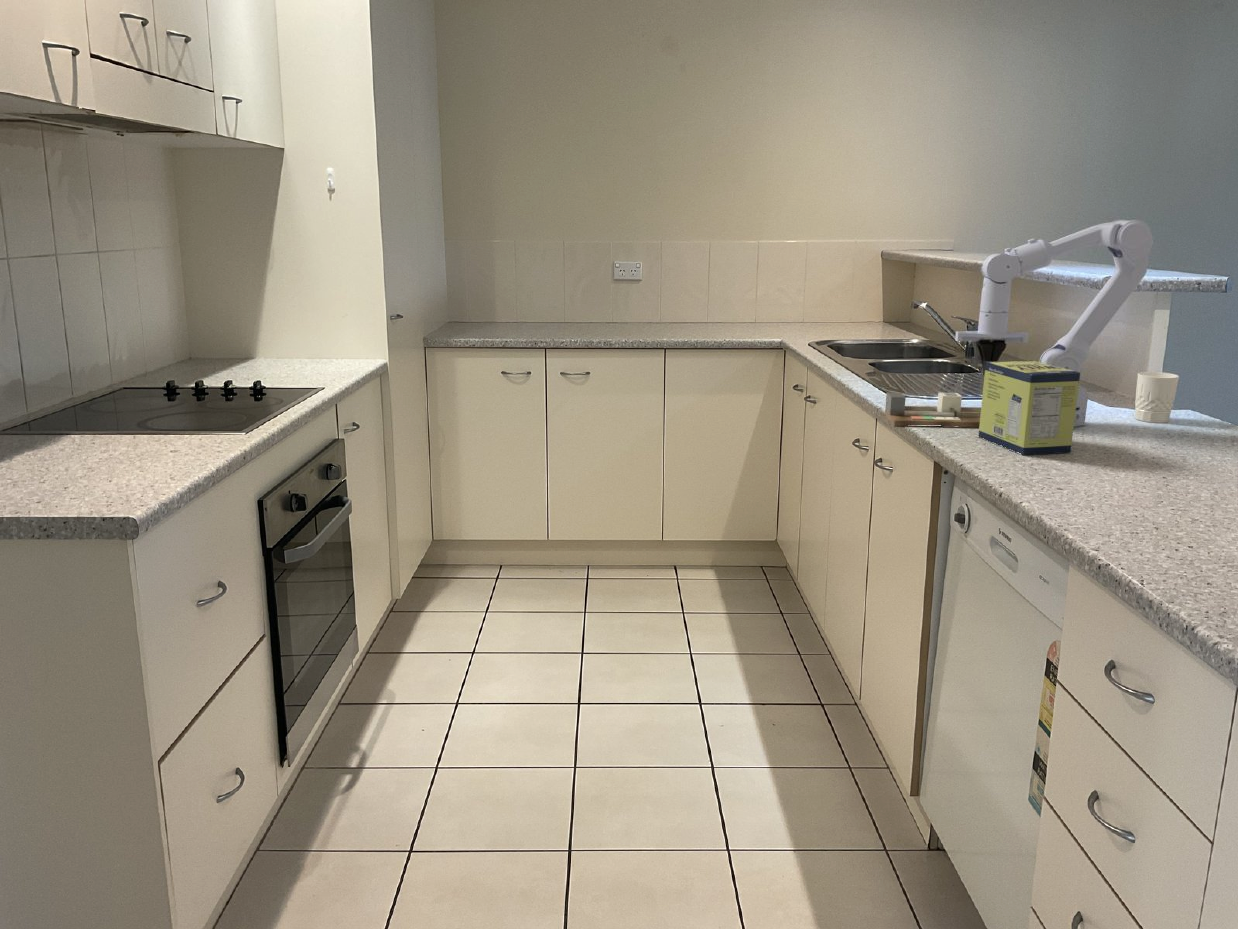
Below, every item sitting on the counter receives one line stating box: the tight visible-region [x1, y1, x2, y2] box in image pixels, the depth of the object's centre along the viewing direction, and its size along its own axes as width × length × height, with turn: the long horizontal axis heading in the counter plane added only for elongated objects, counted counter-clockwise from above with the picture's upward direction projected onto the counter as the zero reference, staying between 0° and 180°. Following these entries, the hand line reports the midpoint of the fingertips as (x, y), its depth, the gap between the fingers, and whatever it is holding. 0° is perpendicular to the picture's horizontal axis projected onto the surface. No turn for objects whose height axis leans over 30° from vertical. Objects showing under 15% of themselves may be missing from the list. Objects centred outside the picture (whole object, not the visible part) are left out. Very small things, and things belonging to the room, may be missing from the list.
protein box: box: [978, 359, 1081, 456], centre depth 188 cm, size 10×16×16 cm
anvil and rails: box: [884, 391, 981, 417], centre depth 211 cm, size 21×6×4 cm, turn 85°
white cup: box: [1133, 371, 1180, 424], centre depth 211 cm, size 8×8×10 cm
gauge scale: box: [910, 416, 961, 421], centre depth 207 cm, size 10×3×1 cm, turn 85°
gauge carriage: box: [936, 392, 963, 417], centre depth 209 cm, size 4×8×4 cm, turn 175°
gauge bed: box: [884, 409, 980, 429], centre depth 210 cm, size 22×11×1 cm, turn 85°
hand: (987, 375), depth 209 cm, fingers closed
